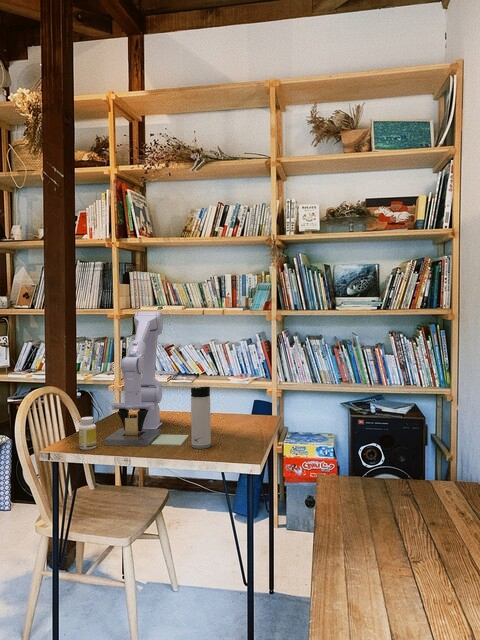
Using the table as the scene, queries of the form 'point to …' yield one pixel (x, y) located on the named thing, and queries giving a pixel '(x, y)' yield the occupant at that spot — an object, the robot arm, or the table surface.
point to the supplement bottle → (87, 433)
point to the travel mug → (200, 417)
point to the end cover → (132, 426)
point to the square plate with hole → (133, 438)
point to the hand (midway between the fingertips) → (133, 430)
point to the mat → (170, 440)
